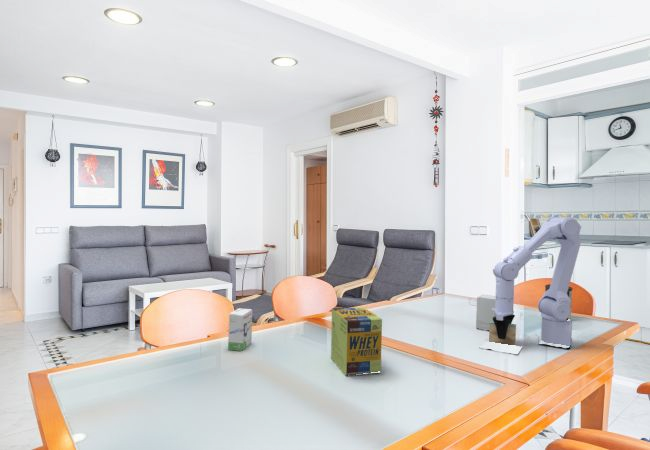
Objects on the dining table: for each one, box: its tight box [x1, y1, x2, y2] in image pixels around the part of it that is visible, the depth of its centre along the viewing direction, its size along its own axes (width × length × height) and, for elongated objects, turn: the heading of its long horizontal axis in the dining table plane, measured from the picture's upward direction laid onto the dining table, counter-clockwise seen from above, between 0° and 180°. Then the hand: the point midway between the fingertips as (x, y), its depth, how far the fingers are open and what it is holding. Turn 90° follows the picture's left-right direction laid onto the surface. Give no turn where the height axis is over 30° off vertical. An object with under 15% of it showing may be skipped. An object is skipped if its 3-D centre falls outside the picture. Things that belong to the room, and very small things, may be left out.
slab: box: [488, 321, 517, 345], centre depth 149 cm, size 8×3×7 cm, turn 57°
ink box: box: [227, 307, 253, 352], centre depth 143 cm, size 9×5×12 cm, turn 168°
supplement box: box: [475, 294, 497, 331], centre depth 169 cm, size 7×7×13 cm
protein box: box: [330, 307, 383, 377], centre depth 127 cm, size 10×15×16 cm
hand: (503, 336), depth 149 cm, fingers open, 5 cm apart
